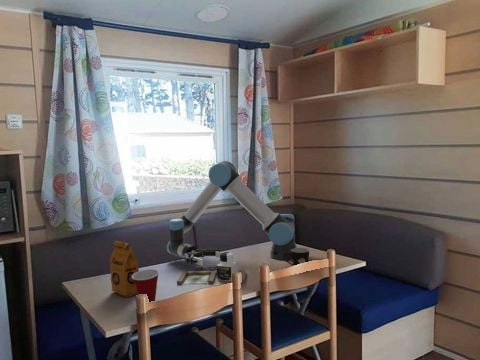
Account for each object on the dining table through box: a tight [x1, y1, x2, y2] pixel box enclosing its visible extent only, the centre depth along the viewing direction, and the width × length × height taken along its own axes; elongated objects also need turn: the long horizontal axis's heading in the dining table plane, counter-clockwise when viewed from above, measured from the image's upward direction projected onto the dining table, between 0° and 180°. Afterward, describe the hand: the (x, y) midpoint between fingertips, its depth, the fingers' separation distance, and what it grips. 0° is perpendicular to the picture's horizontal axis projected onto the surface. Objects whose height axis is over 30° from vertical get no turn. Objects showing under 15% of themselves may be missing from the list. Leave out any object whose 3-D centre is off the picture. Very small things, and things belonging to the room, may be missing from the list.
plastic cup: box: [132, 268, 160, 302], centre depth 166 cm, size 11×11×12 cm
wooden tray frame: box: [176, 269, 246, 286], centre depth 192 cm, size 30×14×2 cm, turn 87°
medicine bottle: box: [216, 251, 238, 282], centre depth 191 cm, size 7×7×12 cm
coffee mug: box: [283, 247, 310, 266], centre depth 199 cm, size 12×9×10 cm
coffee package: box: [109, 240, 140, 298], centre depth 177 cm, size 10×12×22 cm
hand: (213, 259), depth 198 cm, fingers open, 13 cm apart
